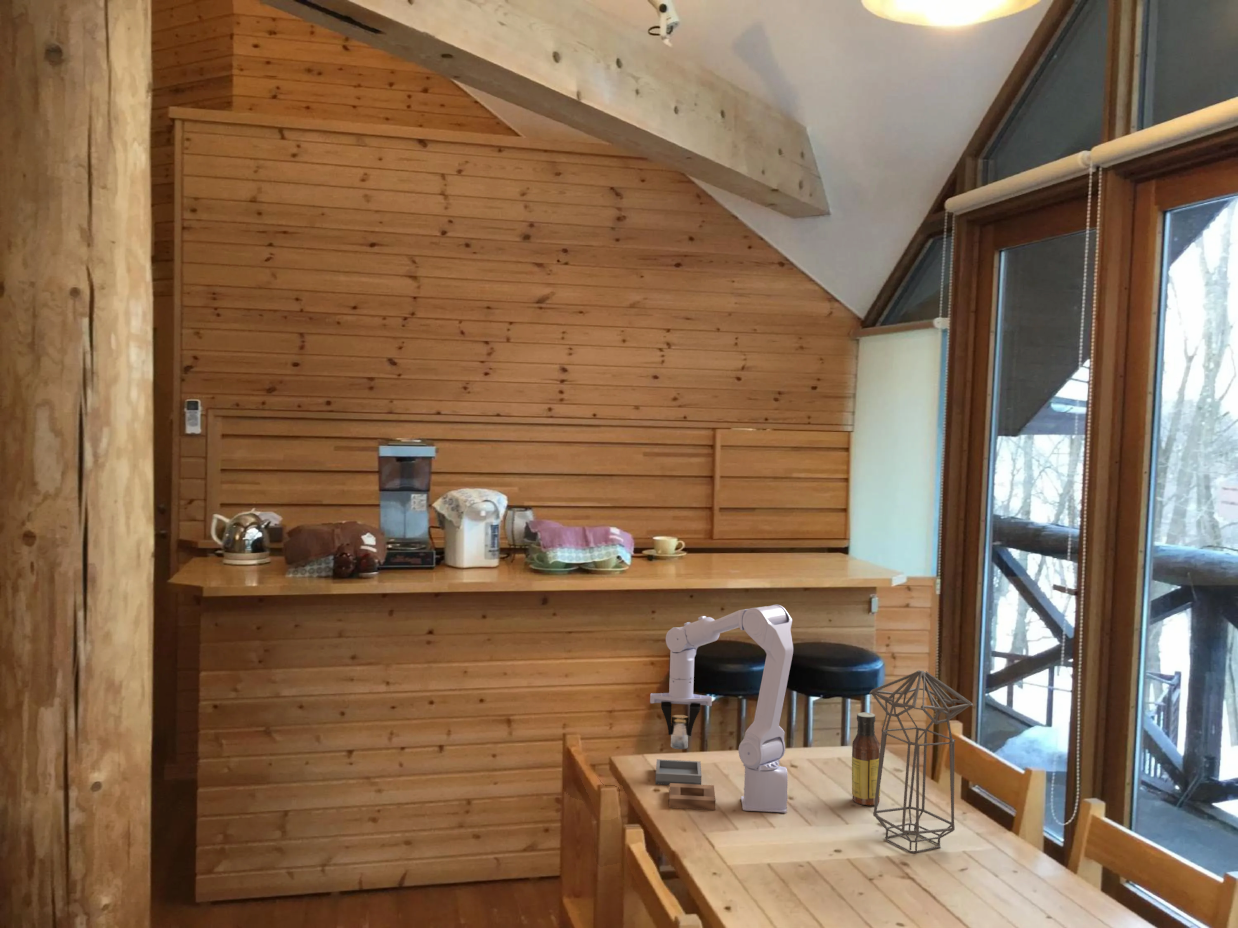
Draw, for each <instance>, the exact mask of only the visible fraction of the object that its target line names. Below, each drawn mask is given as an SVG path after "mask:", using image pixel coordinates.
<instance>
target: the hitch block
mask: <svg viewBox="0 0 1238 928" xmlns="http://www.w3.org/2000/svg"><path fill="white" fill-rule="evenodd" d="M668 798H669V799H668V800H669V801H668V805H669V806H668V808H669V807H670V809H673V808H676V809H688V810H689V809H692V810H708V811H709V810H710V811H716V802H717V801H716V791H715V785H714V784H713V785H712V784H711V785H710V784H701V785H698V784H678V783H670V785H669V797H668Z"/></svg>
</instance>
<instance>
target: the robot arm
mask: <svg viewBox="0 0 1238 928" xmlns="http://www.w3.org/2000/svg"><path fill="white" fill-rule="evenodd" d="M697 619H698V620H696V621H692V622H690V621H688V622H685V623H683V626H680V627H676V626H675V627H674V626H673V627H672V628H670V629H669V630H668V631H667V632H666V634H665V644H666V646H667V649H669V650H670V652H669V655H670V658H669V686H668V687H669V689H668V690H669V691H668V692H663V693H662V692H660V693H658V692H657V693H654V692H651V693H650V697H649V698H650V700H649V703H650V704H660V705H661V706H660V708H661V710H662V713H663V716H664V718H665V721H666V726H667V731H668V733H667V734H668V735H669V736H671V732H672V729H671V728H672V706H673V705H675V704H676V705H689V715H688V717H689V725H688V737H691V736H692V731H693V728H694V725H695V721H696V719H697V718H698V715H699V713H700V712H701V706H707V707H712V705H713V698H712V696H711V695H702V694H696V693H694V683H695V681H694V680H695V678H694V677H695V657H696V655H697V650H698V649H699V647H701V646H705V645H707V644H710V643H713V642H716V641H718V640H719V637H720V635H721V634H723V633H725V632H729V631H733V630H735V629H739V630H740V631H745V633H746V634H747V635H748V637H750V638H751V639H752V640H753V641H754V642H755V643H756V644H757V645H758V646H759V647H760V648H761V649H763V650H764V652H765V654H766V656H765V662H764V667H763V672H762V677H761V683H760V686H759V693H758V698H757V703H756V708H755V713H754V720H753V722H752V723H751V724H750V725H749V727H748V728H747V729H746V730H745V733H744V737H743V739H742V740H741V742H740V743H739V746H738V757H739V759H740V761H741V763H743V764H742V766H743V767H744V780H743V781H744V785H743V786H744V787H743V791H744V792H743V795H741V796H740V801H741V807H742V810H743V811H750V812H767V813H768V812H769V813H784V814H786V813H788V812H787V810H788V809H787V807H788V806H787V805H788V804H787V803H788V796H789V795H788V781H789V780H788V769H787V766H781V765H780V760H781V759H782V758H783V757H784V756H785V753H786V743H785V734H786V732H785V731H784V729H783V728H782V727H781V726H780V721H781V718H782V717H781V716H782V712H783V708H784V701H785V697H786V696H785V695H786V691H787V686H788V681H789V675H790V670H791V666H792V660H793V656H794V655H793V654H794V643H793V637H792V632H791V630H792V625H793V618H792V617H791V615H790V614H789V612H788V610H786V608H785V607H784V606H782V605H780V604H772V605H768V606H767V605H765V606H758V607H751V608H745V609H739V610H736V611H734V612H732V613H729V614H727V615H724V616H722V617H720V618H716V619H714V618H713V617H711V616H708V617H707V616H706V615H701V616H699V617H697Z"/></svg>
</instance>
